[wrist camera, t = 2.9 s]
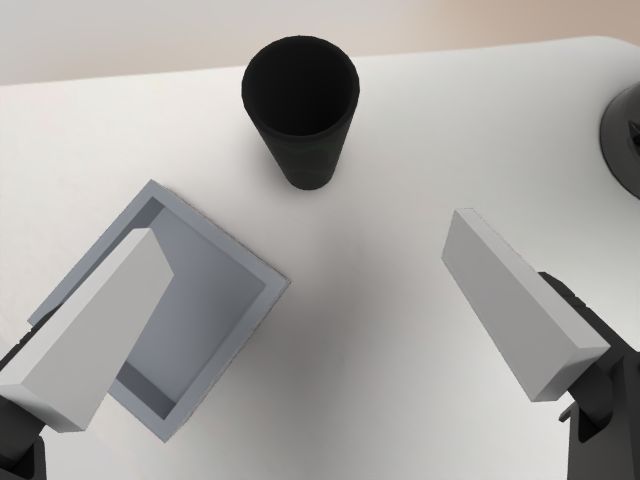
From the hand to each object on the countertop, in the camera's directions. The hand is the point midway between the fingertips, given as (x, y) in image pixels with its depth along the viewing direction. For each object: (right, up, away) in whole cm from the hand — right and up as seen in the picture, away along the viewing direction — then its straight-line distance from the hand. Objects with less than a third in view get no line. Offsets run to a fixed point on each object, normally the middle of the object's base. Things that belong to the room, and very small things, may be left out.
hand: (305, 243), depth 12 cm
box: (-13, -6, +15) cm, 21 cm away
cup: (-1, +8, +17) cm, 19 cm away
